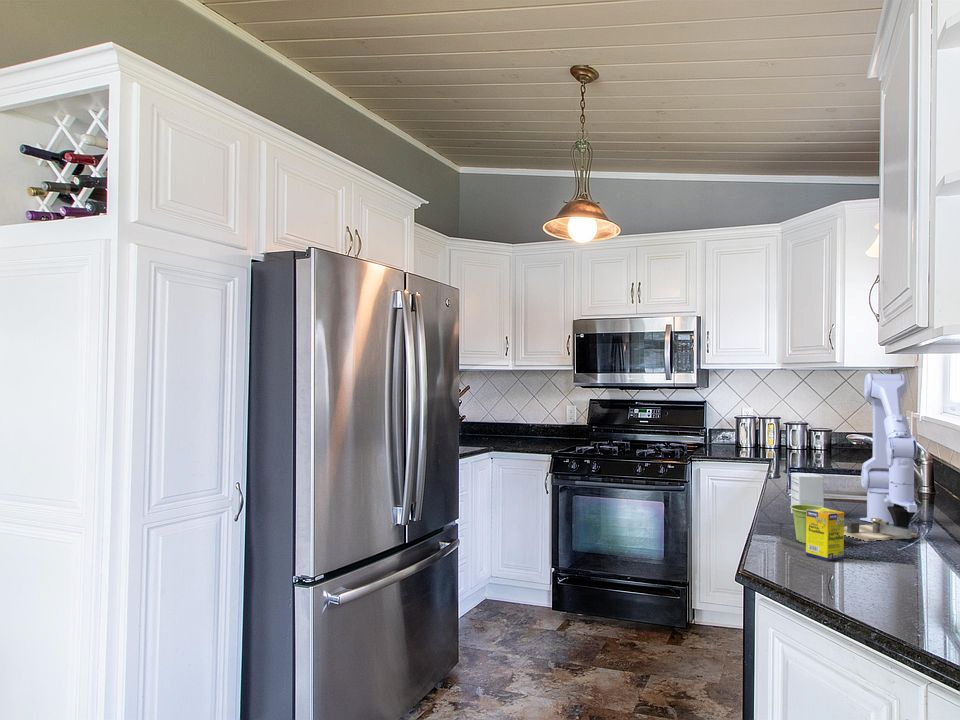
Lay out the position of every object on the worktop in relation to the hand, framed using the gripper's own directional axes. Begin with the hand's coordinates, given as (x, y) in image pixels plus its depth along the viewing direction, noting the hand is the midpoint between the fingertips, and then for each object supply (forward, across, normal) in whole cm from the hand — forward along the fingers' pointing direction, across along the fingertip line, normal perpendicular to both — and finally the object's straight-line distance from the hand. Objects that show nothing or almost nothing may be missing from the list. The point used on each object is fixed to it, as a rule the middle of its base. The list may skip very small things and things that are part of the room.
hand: (901, 534), depth 185 cm
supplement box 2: (+1, +26, -26) cm, 37 cm away
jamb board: (+1, -4, -6) cm, 7 cm away
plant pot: (+1, +10, -25) cm, 27 cm away
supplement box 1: (+2, -27, -16) cm, 32 cm away
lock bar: (0, 0, -3) cm, 3 cm away
